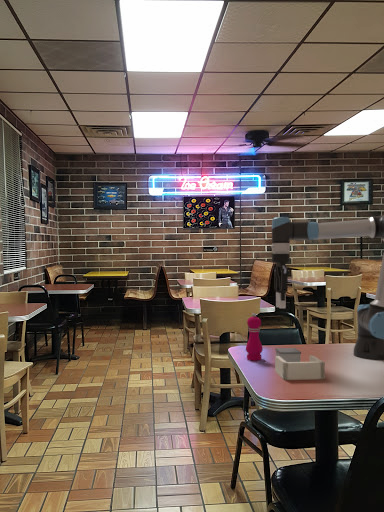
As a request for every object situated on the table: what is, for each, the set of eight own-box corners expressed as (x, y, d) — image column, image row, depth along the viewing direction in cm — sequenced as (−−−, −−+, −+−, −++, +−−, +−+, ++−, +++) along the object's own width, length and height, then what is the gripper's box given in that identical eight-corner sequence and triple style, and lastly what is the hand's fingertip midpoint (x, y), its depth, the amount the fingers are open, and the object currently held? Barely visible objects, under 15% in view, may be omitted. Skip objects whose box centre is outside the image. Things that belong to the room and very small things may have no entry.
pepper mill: (262, 361, 180) (262, 314, 180) (245, 360, 181) (245, 313, 181) (262, 357, 187) (262, 312, 187) (246, 356, 188) (246, 311, 188)
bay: (313, 370, 164) (313, 355, 164) (324, 379, 153) (324, 362, 153) (275, 371, 163) (275, 356, 163) (284, 380, 152) (284, 363, 152)
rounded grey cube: (295, 363, 176) (295, 348, 176) (301, 368, 168) (301, 351, 168) (275, 364, 175) (275, 348, 175) (280, 368, 168) (280, 352, 168)
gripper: (267, 253, 190) (267, 305, 190) (277, 252, 173) (277, 310, 173) (283, 253, 191) (283, 305, 191) (295, 252, 174) (295, 309, 174)
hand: (280, 307), depth 182 cm, fingers open, 4 cm apart
